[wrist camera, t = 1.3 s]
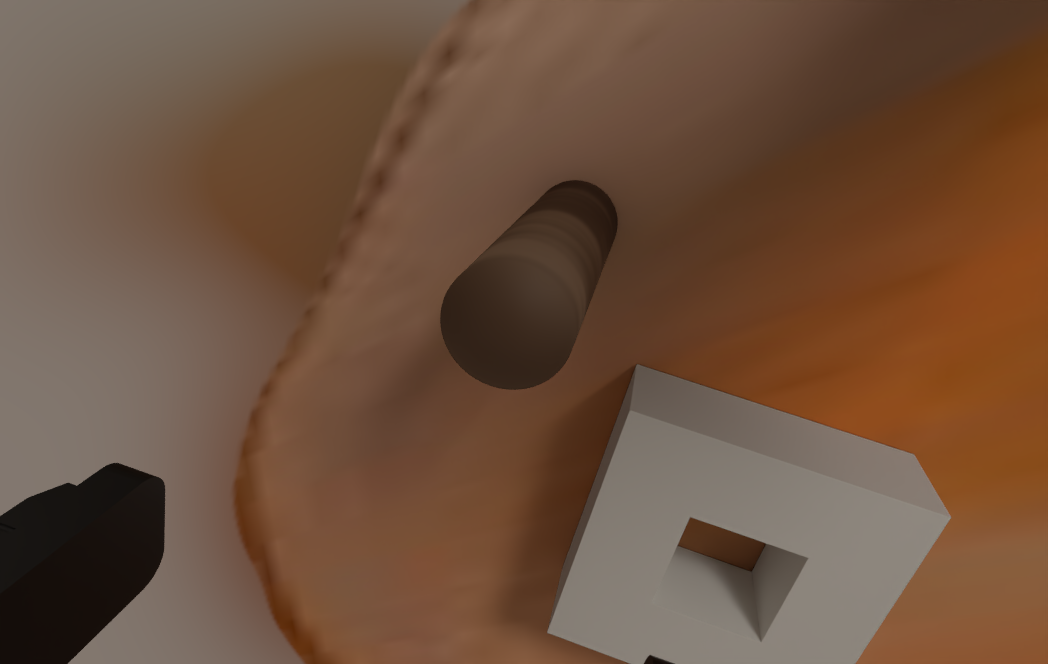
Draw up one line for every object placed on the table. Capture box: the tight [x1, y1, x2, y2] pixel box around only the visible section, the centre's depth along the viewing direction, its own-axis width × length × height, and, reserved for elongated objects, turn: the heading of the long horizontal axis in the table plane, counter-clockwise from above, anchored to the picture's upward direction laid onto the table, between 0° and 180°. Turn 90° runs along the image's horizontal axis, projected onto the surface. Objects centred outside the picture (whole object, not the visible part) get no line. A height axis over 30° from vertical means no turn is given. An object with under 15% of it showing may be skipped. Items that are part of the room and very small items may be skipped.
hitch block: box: [547, 364, 951, 664], centre depth 34 cm, size 14×14×5 cm
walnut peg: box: [440, 180, 618, 390], centre depth 26 cm, size 4×4×14 cm
